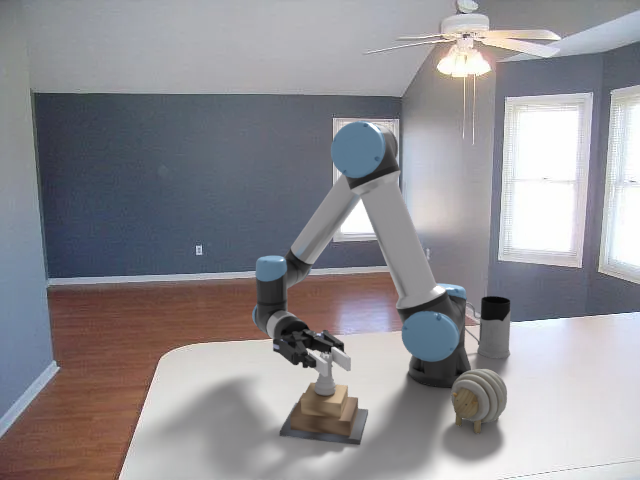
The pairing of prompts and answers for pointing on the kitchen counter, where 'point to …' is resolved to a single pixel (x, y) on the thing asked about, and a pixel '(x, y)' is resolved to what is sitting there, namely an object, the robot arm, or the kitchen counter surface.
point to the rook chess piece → (326, 378)
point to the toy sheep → (478, 397)
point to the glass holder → (493, 327)
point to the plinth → (326, 417)
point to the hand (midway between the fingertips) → (337, 367)
